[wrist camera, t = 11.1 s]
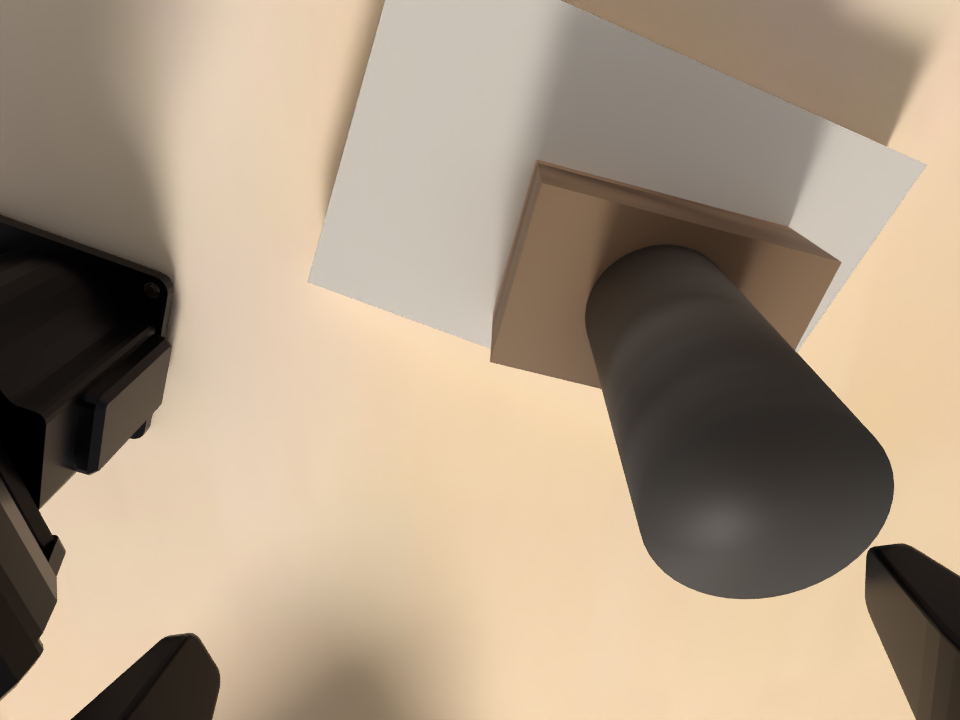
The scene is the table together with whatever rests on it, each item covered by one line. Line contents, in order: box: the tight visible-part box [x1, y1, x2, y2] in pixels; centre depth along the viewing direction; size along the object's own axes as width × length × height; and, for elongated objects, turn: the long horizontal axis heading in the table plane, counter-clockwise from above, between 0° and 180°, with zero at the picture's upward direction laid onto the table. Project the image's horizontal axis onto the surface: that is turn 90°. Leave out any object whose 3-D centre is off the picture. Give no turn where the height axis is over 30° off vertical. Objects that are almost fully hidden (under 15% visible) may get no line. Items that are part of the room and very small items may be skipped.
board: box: [307, 0, 927, 352], centre depth 18 cm, size 14×9×2 cm, turn 69°
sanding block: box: [490, 160, 894, 599], centre depth 13 cm, size 7×4×10 cm, turn 76°
